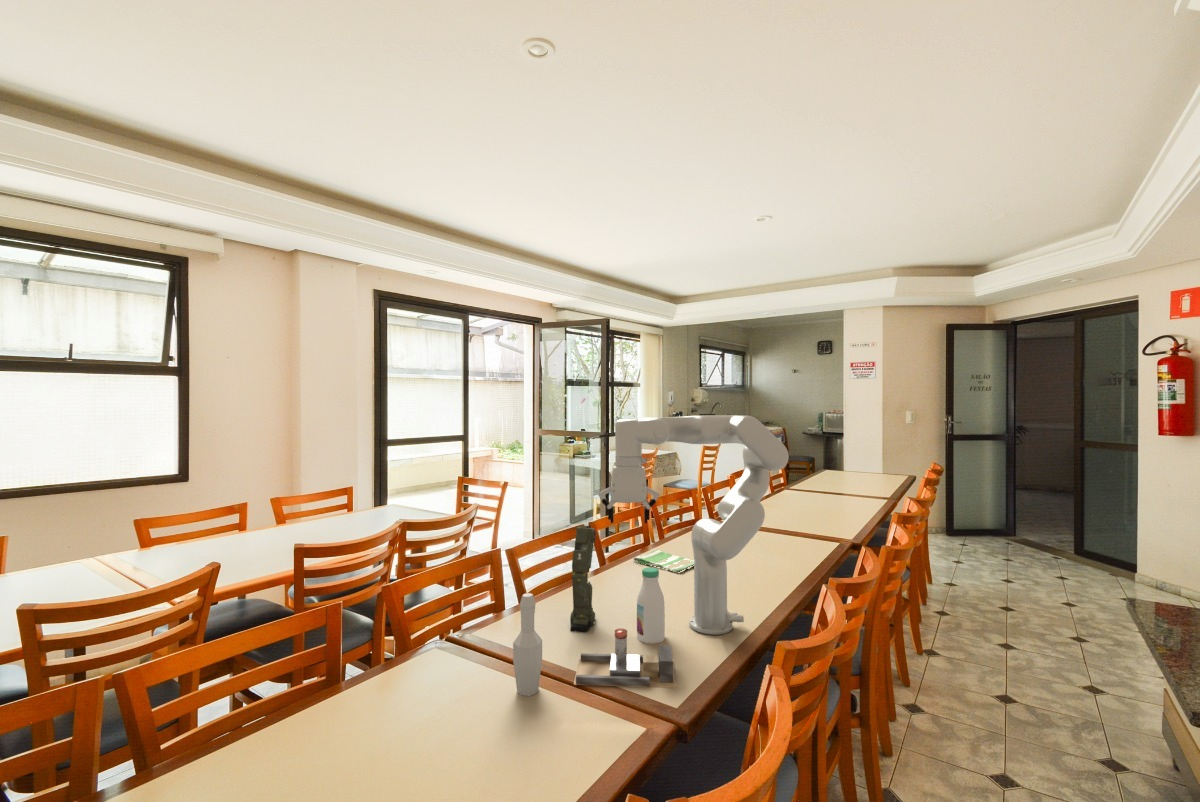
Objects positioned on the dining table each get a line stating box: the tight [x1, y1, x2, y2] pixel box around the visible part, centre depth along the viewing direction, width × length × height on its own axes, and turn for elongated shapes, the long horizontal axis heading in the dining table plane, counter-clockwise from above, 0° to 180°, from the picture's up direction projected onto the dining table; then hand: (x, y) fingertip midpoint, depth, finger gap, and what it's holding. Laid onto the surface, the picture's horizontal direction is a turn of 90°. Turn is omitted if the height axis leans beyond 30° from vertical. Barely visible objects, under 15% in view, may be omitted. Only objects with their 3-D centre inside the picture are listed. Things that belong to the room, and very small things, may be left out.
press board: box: [573, 644, 679, 689], centre depth 127 cm, size 24×12×6 cm, turn 86°
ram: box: [610, 627, 641, 677], centre depth 127 cm, size 7×8×10 cm
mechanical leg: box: [569, 525, 597, 633], centre depth 160 cm, size 14×7×30 cm, turn 168°
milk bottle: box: [636, 566, 666, 644], centre depth 147 cm, size 8×8×20 cm
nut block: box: [642, 654, 659, 677], centre depth 127 cm, size 4×4×4 cm
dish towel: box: [633, 549, 694, 573], centre depth 219 cm, size 18×23×3 cm
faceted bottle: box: [512, 592, 543, 697], centre depth 122 cm, size 6×6×22 cm
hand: (628, 522), depth 150 cm, fingers open, 9 cm apart
